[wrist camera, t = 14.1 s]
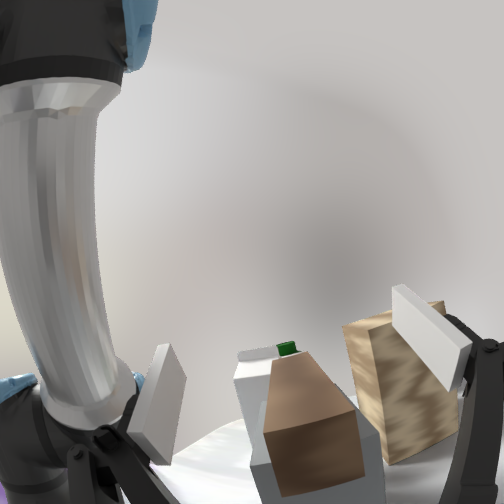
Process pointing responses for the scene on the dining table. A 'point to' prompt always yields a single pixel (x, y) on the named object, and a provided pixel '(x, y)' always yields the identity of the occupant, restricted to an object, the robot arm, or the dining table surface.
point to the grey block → (333, 498)
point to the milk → (254, 383)
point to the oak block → (398, 388)
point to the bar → (309, 428)
